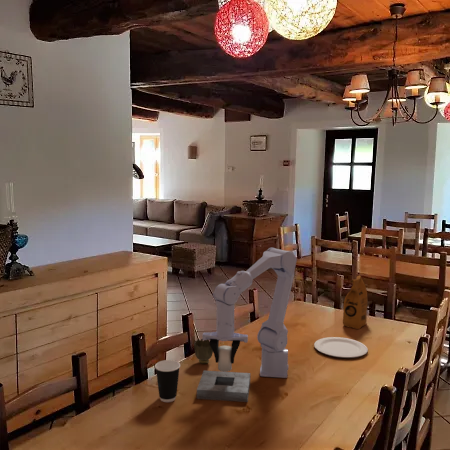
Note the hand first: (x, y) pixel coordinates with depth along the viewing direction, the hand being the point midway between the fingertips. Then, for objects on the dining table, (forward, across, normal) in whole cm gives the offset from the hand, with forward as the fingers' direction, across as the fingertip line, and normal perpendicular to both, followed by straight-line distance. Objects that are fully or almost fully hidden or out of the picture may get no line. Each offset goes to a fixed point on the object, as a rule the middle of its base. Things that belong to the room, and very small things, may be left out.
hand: (224, 361), depth 156 cm
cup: (+10, -10, +20) cm, 24 cm away
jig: (+10, 0, 0) cm, 10 cm away
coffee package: (+9, +52, +71) cm, 88 cm away
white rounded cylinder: (+2, 0, 0) cm, 3 cm away
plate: (+10, +42, +40) cm, 59 cm away
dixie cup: (+10, -17, -8) cm, 21 cm away
